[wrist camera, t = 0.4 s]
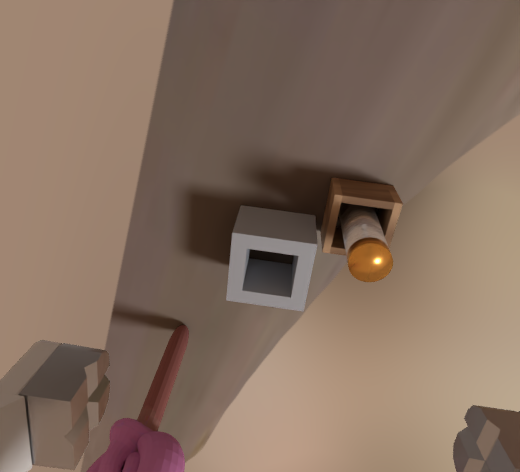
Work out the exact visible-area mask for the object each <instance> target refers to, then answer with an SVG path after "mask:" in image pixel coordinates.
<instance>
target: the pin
mask: <svg viewBox="0 0 520 472" xmlns="http://www.w3.org/2000/svg"><path fill="white" fill-rule="evenodd" d="M339 217H340V223H341V228H342V234H343V239H344V245H345V250H346V256H347V261H348V267H349V270H350V272H351V274H352V275H353V276H354V277H355V278H356V279H358V280H360V281H364V282H375V281H378V280H381V279H383V278H384V277H386V276H387V275H388V274H389V273H390V271H391V269H392V266H393V259H392V256H391V253H390V250H389V247H388V245H387V242H386V239H385V237H384V234H383V231H382V228H381V226H380V223H379V220H378V217H377V215H376V212H375V209H374V207H369V206H362V205H355V204H347V203H341V205H340V210H339Z"/></svg>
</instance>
